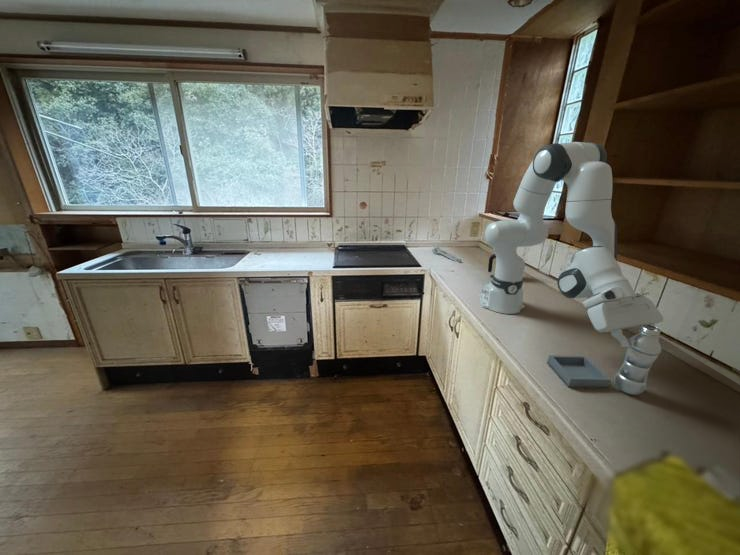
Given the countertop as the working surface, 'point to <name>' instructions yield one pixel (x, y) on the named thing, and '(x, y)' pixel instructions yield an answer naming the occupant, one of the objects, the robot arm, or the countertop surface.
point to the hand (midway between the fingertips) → (641, 344)
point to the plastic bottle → (638, 360)
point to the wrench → (444, 252)
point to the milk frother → (491, 263)
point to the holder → (578, 372)
